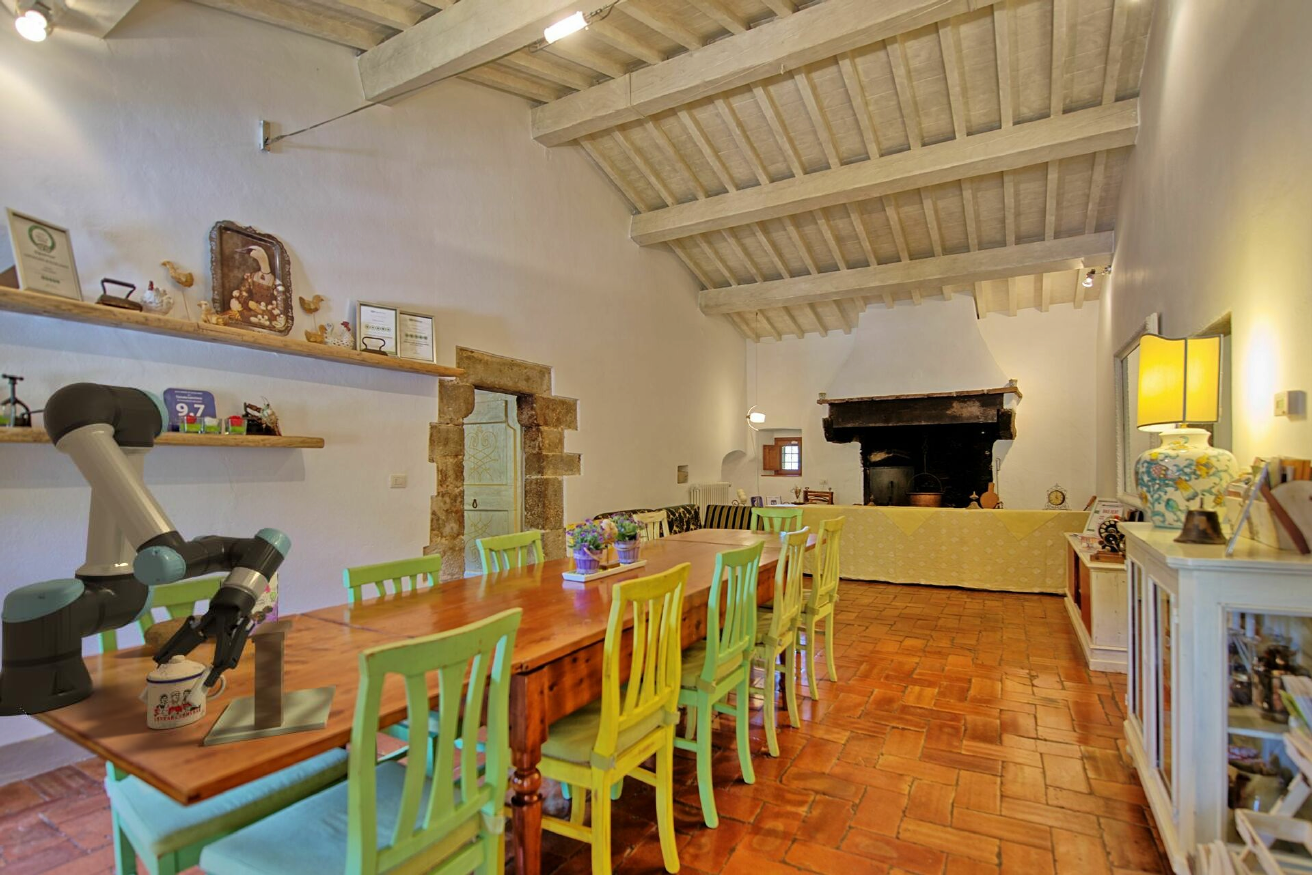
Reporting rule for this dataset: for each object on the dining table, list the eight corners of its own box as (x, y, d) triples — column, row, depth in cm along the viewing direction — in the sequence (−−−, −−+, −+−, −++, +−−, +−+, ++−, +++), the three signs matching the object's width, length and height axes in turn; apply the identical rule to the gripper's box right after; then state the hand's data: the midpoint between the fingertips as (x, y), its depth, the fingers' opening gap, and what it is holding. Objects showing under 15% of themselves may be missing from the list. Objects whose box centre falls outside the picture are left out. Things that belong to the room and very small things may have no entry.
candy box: (235, 643, 167) (235, 580, 168) (217, 641, 169) (218, 579, 169) (278, 629, 181) (279, 570, 181) (262, 628, 182) (262, 570, 183)
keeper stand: (204, 746, 106) (205, 640, 107) (233, 703, 125) (233, 614, 126) (324, 727, 113) (325, 628, 114) (335, 690, 132) (335, 605, 132)
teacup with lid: (147, 735, 111) (148, 667, 111) (143, 719, 118) (144, 655, 118) (229, 716, 119) (230, 653, 119) (221, 702, 126) (222, 642, 126)
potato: (138, 652, 160) (139, 620, 160) (204, 640, 171) (205, 610, 171) (148, 660, 154) (149, 626, 154) (216, 646, 164) (217, 615, 165)
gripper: (295, 606, 133) (233, 714, 117) (202, 604, 136) (129, 708, 120) (276, 585, 128) (209, 695, 112) (180, 583, 131) (101, 690, 115)
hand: (168, 702), depth 116 cm, fingers closed on teacup with lid, 9 cm apart
